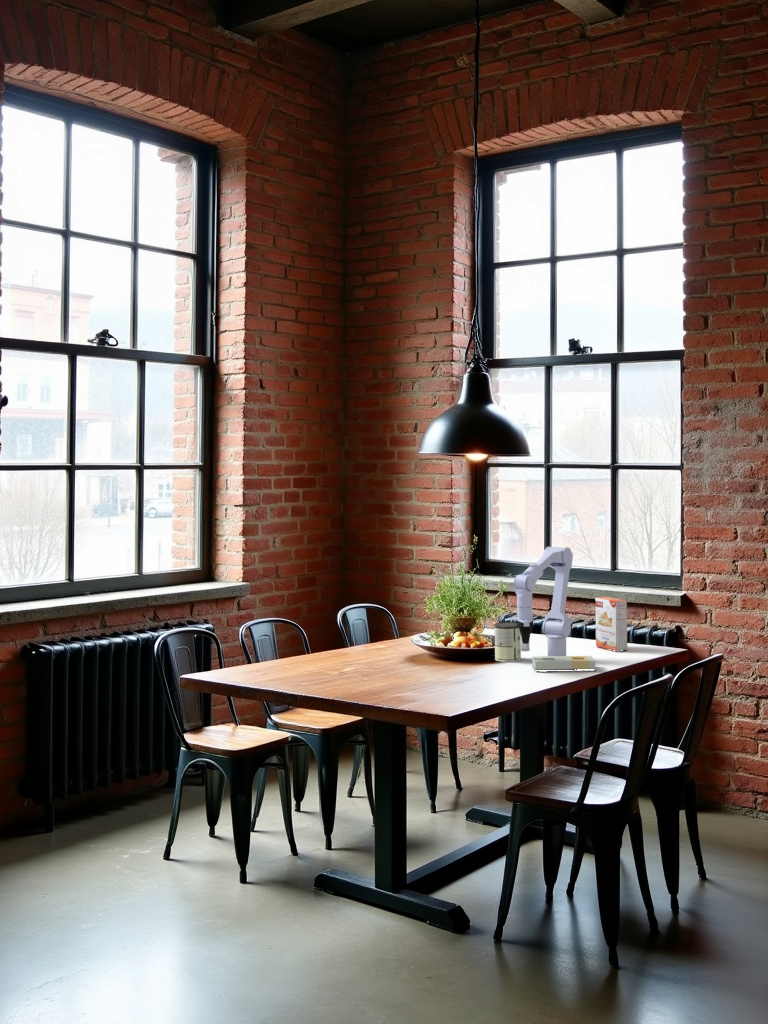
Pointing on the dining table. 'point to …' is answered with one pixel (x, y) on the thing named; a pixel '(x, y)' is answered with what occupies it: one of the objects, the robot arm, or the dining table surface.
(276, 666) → the dining table surface
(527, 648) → the steel peg
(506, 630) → the coffee can
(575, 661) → the hole block
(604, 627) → the cracker box
